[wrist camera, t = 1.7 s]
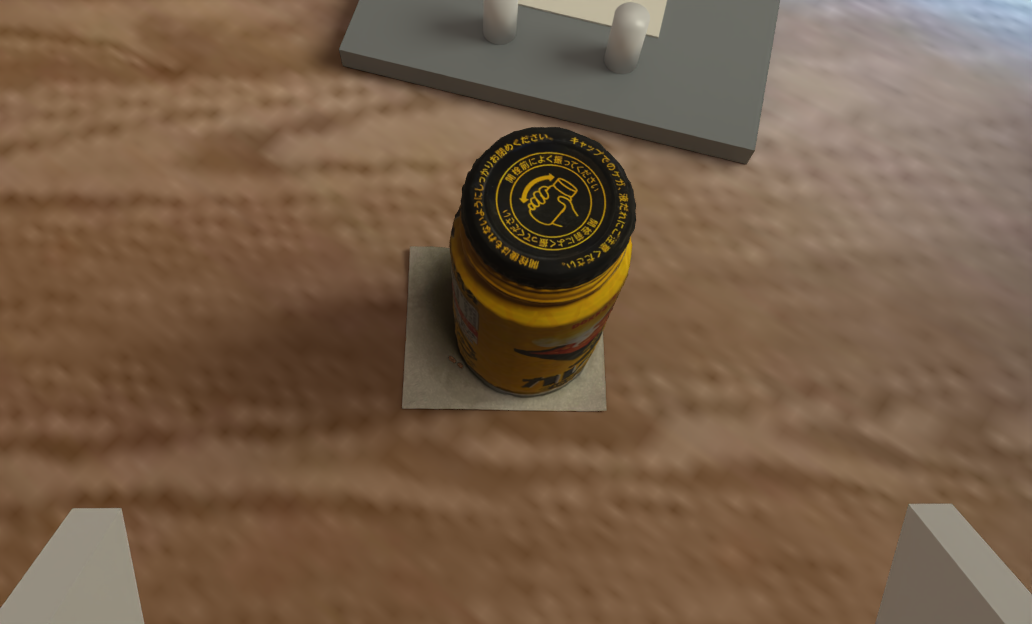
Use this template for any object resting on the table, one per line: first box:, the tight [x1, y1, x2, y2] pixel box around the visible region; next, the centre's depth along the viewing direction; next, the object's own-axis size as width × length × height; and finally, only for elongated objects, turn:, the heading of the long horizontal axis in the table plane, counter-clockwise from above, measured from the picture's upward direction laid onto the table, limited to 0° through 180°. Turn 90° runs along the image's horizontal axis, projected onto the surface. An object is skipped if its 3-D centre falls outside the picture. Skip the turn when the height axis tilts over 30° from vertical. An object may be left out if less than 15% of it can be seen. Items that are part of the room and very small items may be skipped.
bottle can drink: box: [402, 127, 636, 411], centre depth 29 cm, size 7×8×12 cm
